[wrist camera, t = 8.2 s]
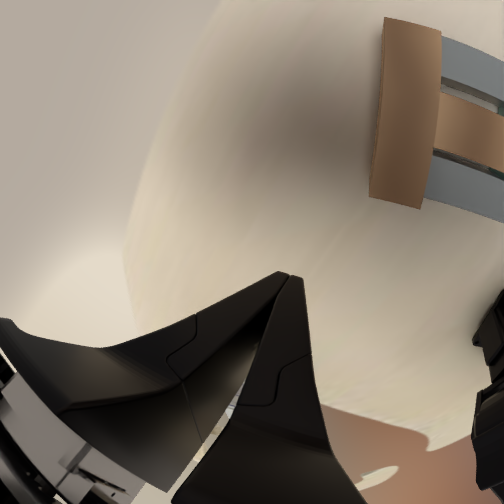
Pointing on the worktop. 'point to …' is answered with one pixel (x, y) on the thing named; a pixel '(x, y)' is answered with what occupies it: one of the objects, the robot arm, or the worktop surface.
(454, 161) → the t dock
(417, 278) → the worktop surface
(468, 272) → the worktop surface
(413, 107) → the t block
